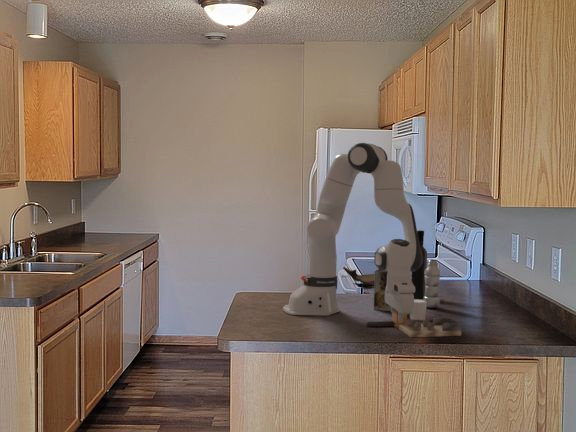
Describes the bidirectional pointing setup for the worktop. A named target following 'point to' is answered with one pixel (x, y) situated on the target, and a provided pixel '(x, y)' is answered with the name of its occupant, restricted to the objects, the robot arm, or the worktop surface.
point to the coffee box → (380, 291)
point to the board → (432, 328)
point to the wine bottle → (420, 271)
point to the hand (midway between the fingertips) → (397, 320)
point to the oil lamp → (361, 277)
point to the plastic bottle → (432, 284)
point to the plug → (389, 323)
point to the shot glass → (418, 309)
